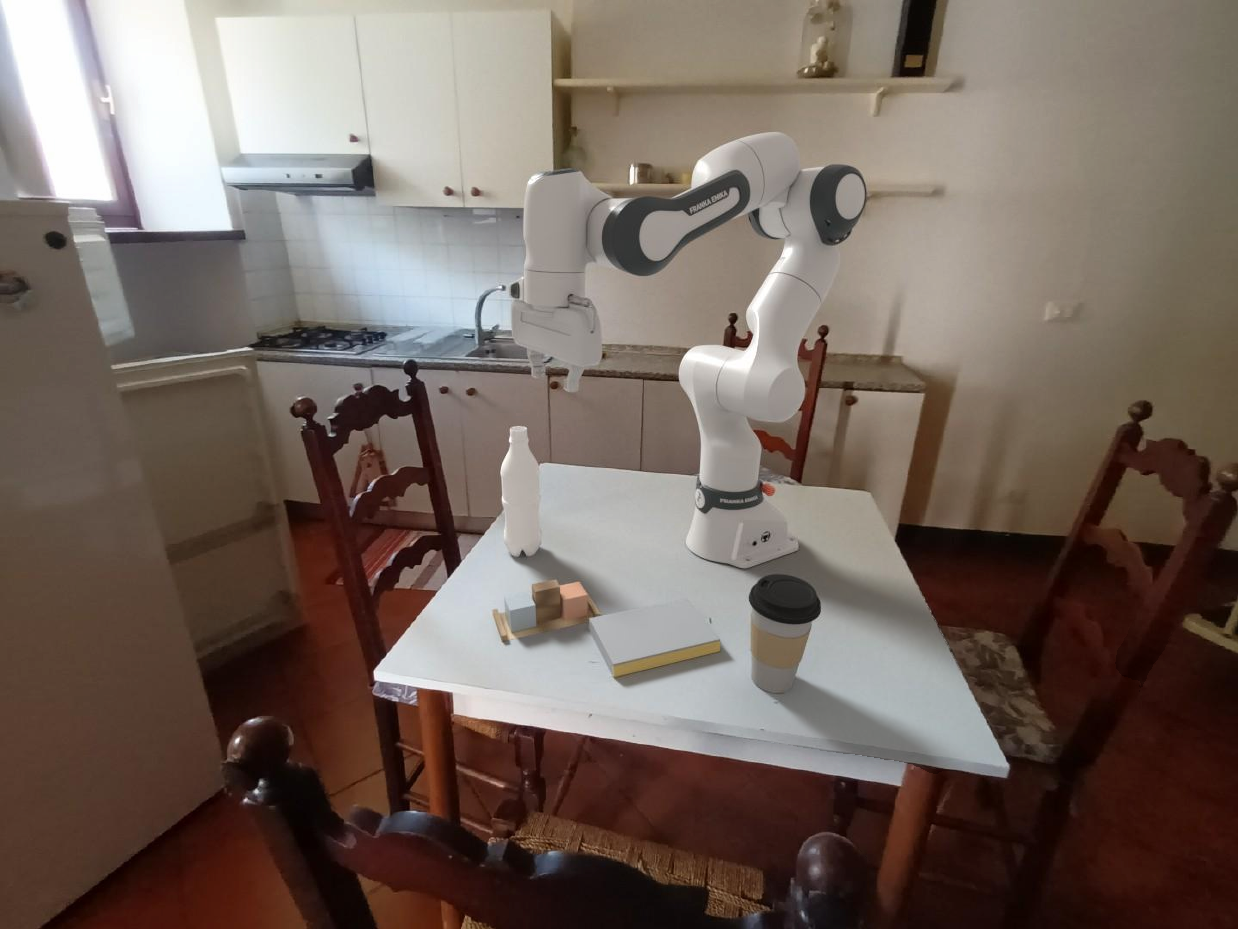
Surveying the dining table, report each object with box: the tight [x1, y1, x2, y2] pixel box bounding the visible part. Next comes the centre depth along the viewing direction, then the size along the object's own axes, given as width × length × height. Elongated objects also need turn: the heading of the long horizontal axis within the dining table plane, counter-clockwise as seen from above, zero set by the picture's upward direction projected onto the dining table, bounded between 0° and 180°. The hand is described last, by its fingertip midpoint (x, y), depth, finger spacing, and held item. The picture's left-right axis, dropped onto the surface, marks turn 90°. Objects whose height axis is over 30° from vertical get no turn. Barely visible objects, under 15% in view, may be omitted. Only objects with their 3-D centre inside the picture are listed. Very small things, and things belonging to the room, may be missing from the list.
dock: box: [588, 597, 722, 678], centre depth 92 cm, size 17×11×2 cm, turn 110°
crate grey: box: [503, 591, 536, 632], centre depth 95 cm, size 4×4×4 cm
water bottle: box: [499, 425, 543, 558], centre depth 112 cm, size 7×7×25 cm
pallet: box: [492, 579, 602, 642], centre depth 97 cm, size 16×7×7 cm, turn 112°
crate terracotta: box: [559, 581, 587, 621], centre depth 98 cm, size 4×4×4 cm
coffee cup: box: [748, 573, 822, 694], centre depth 83 cm, size 9×9×15 cm
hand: (554, 384), depth 93 cm, fingers open, 8 cm apart
